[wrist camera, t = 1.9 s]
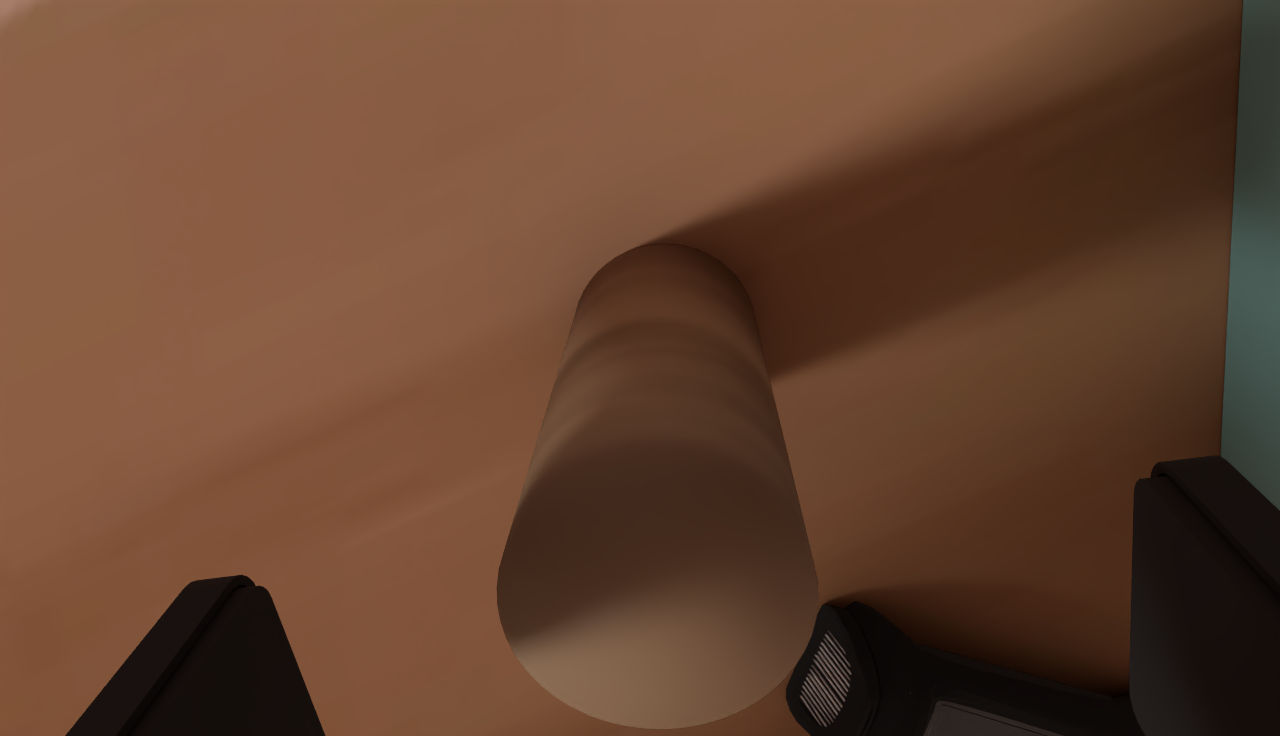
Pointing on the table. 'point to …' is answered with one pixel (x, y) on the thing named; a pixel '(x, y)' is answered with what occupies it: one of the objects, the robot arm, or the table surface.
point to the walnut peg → (660, 507)
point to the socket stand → (1255, 261)
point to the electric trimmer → (931, 689)
